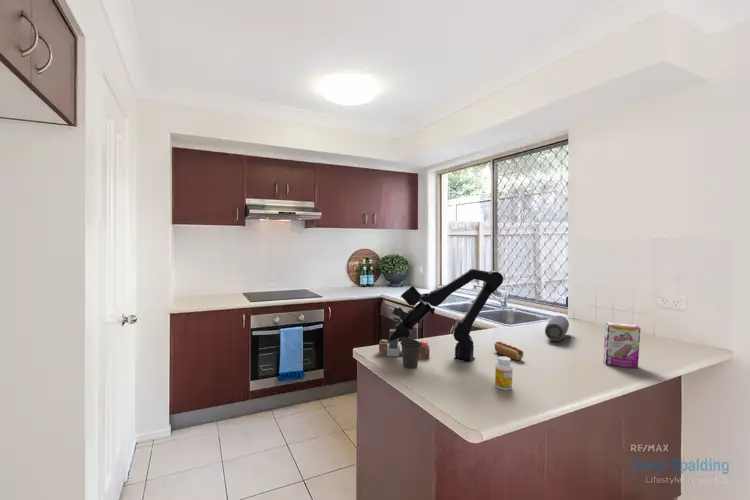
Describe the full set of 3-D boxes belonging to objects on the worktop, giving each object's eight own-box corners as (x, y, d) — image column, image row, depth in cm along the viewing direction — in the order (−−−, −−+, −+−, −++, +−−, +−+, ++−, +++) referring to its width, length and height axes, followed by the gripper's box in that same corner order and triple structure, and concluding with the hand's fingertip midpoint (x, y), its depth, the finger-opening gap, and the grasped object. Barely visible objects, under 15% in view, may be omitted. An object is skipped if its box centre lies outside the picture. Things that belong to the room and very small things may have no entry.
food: (491, 352, 160) (491, 341, 160) (501, 350, 163) (501, 339, 162) (515, 362, 148) (516, 350, 148) (526, 360, 150) (526, 348, 150)
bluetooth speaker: (564, 345, 173) (565, 324, 173) (543, 341, 178) (544, 321, 178) (569, 334, 192) (570, 315, 192) (550, 331, 197) (550, 313, 197)
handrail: (418, 355, 154) (418, 351, 154) (418, 356, 152) (418, 352, 152) (387, 353, 156) (387, 349, 156) (386, 354, 154) (386, 350, 154)
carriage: (399, 352, 157) (400, 328, 157) (398, 356, 151) (399, 332, 151) (388, 351, 158) (388, 328, 158) (386, 355, 152) (387, 331, 152)
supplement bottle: (492, 383, 126) (493, 355, 125) (507, 383, 126) (508, 355, 126) (498, 390, 120) (499, 361, 120) (514, 390, 121) (515, 360, 120)
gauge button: (427, 350, 154) (427, 341, 154) (427, 352, 151) (427, 343, 151) (420, 350, 154) (420, 340, 154) (420, 352, 151) (420, 342, 151)
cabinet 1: (387, 351, 158) (387, 339, 157) (386, 355, 153) (386, 342, 152) (380, 351, 158) (380, 338, 158) (378, 355, 153) (379, 341, 153)
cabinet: (429, 354, 155) (429, 345, 155) (429, 358, 150) (429, 349, 150) (418, 354, 156) (418, 344, 155) (418, 357, 151) (418, 348, 150)
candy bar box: (605, 365, 146) (607, 324, 146) (602, 361, 151) (604, 321, 150) (638, 369, 143) (641, 327, 142) (634, 365, 147) (636, 324, 147)
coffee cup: (419, 371, 136) (420, 344, 135) (398, 369, 137) (398, 342, 137) (421, 363, 144) (422, 338, 143) (401, 362, 145) (401, 337, 145)
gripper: (405, 296, 162) (380, 319, 164) (402, 303, 144) (373, 329, 146) (423, 314, 161) (397, 337, 164) (421, 324, 143) (393, 350, 145)
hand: (390, 338), depth 155 cm, fingers closed on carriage, 3 cm apart
